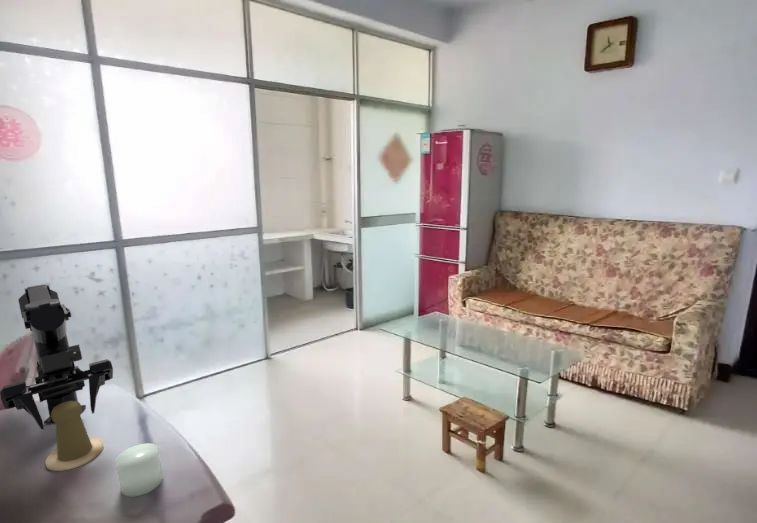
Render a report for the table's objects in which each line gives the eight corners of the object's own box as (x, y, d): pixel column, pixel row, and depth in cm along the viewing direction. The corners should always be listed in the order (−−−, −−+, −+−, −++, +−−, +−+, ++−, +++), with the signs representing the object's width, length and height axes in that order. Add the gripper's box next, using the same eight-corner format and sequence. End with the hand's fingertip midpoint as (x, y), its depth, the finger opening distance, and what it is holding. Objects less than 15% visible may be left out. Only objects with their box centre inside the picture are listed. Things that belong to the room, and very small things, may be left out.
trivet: (62, 443, 95) (61, 440, 95) (111, 437, 96) (111, 434, 96) (35, 474, 85) (34, 471, 85) (90, 467, 87) (90, 464, 87)
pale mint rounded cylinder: (129, 473, 85) (124, 446, 83) (167, 468, 86) (163, 441, 85) (114, 499, 78) (109, 470, 77) (156, 493, 79) (151, 464, 78)
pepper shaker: (71, 464, 87) (60, 414, 85) (50, 458, 89) (39, 410, 87) (99, 445, 93) (89, 399, 90) (78, 440, 95) (69, 394, 92)
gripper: (-11, 349, 82) (1, 426, 77) (103, 324, 94) (121, 389, 88) (-1, 373, 90) (11, 444, 84) (104, 347, 102) (120, 408, 96)
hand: (68, 420), depth 88 cm, fingers open, 8 cm apart
